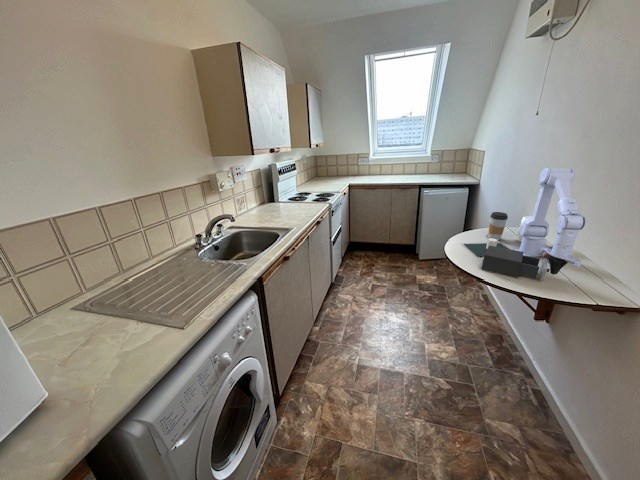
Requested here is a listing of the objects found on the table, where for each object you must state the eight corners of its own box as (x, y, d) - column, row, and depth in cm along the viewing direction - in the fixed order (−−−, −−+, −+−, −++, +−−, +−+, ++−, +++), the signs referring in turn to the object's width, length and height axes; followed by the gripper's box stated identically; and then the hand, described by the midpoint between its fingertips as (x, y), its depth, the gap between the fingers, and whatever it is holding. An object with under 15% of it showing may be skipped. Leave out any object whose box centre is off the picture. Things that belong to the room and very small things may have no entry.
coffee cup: (505, 240, 151) (511, 215, 145) (490, 241, 151) (496, 216, 146) (497, 235, 159) (502, 211, 153) (482, 236, 159) (487, 211, 153)
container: (496, 248, 141) (498, 239, 140) (494, 250, 139) (496, 242, 137) (487, 246, 145) (489, 237, 143) (484, 248, 142) (486, 240, 140)
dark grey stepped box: (519, 266, 123) (523, 251, 120) (517, 278, 114) (521, 262, 111) (485, 259, 131) (488, 245, 128) (481, 269, 122) (484, 254, 119)
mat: (500, 243, 148) (500, 243, 148) (519, 256, 133) (519, 255, 133) (463, 244, 149) (463, 243, 149) (478, 257, 134) (478, 256, 134)
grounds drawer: (547, 271, 117) (551, 259, 115) (547, 282, 108) (551, 270, 106) (509, 263, 125) (512, 252, 123) (507, 273, 117) (510, 261, 114)
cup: (538, 245, 144) (546, 220, 139) (524, 246, 144) (530, 221, 138) (526, 239, 152) (532, 215, 147) (512, 240, 152) (518, 216, 146)
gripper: (592, 249, 100) (580, 281, 105) (553, 236, 113) (544, 264, 118) (577, 252, 99) (566, 283, 104) (539, 238, 112) (531, 266, 117)
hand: (553, 273), depth 111 cm, fingers closed
